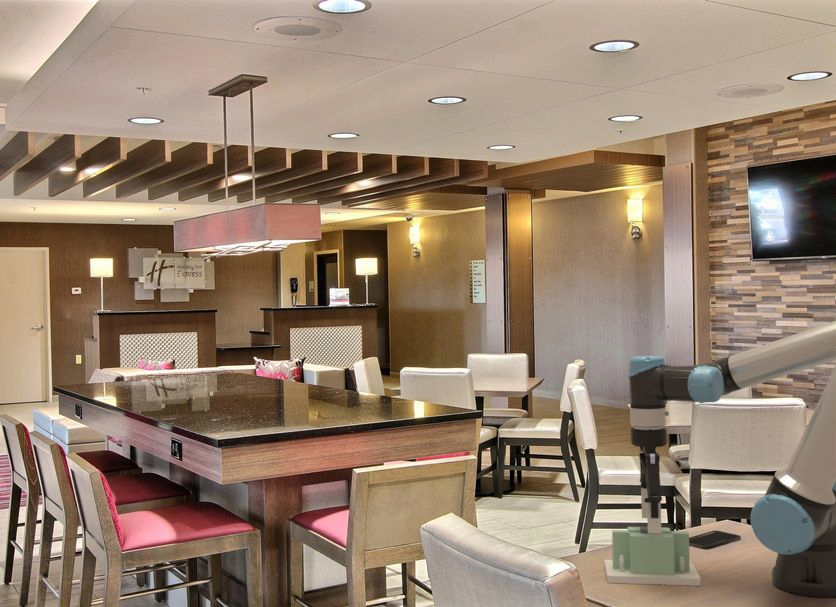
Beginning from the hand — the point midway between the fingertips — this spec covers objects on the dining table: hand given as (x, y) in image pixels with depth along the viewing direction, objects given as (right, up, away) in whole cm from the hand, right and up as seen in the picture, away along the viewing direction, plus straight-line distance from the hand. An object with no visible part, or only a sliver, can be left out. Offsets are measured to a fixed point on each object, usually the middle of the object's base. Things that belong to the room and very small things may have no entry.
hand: (651, 525), depth 192 cm
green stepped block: (0, -10, 0) cm, 10 cm away
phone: (+22, -11, +27) cm, 36 cm away
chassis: (0, -11, 0) cm, 11 cm away
